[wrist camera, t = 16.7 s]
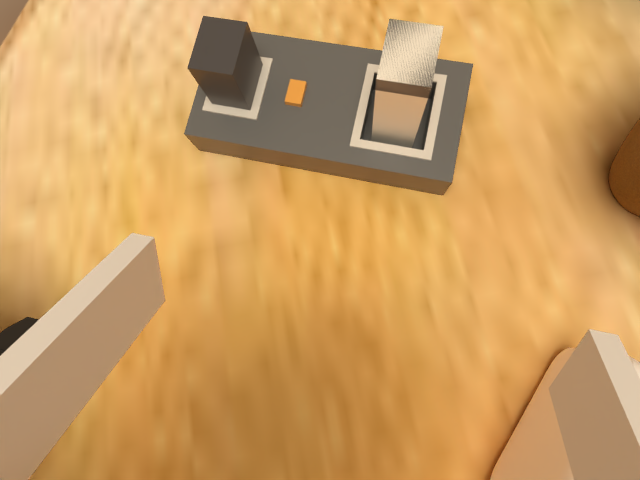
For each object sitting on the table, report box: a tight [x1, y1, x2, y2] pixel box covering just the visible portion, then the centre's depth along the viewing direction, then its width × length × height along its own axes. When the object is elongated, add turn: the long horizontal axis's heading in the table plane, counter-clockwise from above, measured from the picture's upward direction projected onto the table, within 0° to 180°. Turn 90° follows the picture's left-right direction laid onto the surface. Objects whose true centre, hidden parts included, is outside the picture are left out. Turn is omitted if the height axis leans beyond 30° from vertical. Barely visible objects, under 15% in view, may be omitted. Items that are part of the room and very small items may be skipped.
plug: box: [371, 19, 443, 148], centre depth 36 cm, size 4×5×12 cm
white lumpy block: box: [490, 347, 640, 480], centre depth 31 cm, size 15×11×12 cm
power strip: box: [184, 16, 473, 195], centre depth 39 cm, size 26×12×10 cm, turn 77°
